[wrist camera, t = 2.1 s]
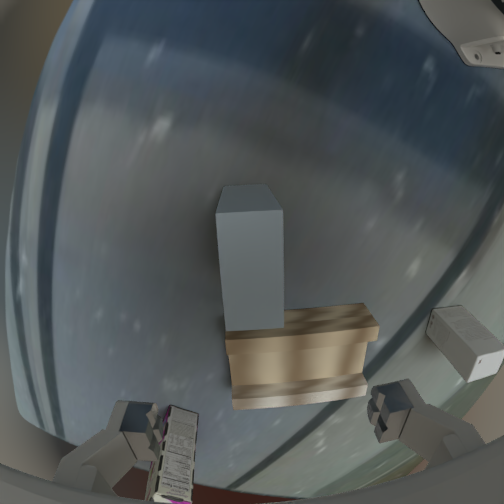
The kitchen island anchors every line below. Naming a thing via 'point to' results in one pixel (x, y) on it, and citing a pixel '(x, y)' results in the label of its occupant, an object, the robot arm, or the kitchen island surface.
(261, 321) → the box
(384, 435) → the robot arm
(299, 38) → the kitchen island surface
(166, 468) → the candy bar box
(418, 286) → the kitchen island surface
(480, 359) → the skincare box
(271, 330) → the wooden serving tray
